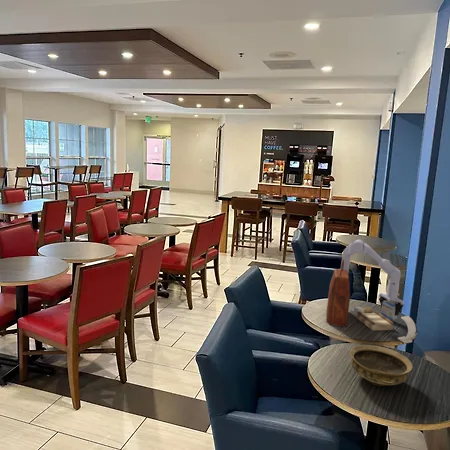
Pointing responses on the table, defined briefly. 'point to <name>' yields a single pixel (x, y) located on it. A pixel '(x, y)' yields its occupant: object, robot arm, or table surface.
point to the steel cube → (358, 309)
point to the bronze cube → (368, 310)
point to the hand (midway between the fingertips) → (389, 312)
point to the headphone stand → (410, 330)
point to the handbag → (338, 298)
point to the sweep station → (374, 320)
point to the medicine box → (388, 309)
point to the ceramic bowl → (380, 364)
